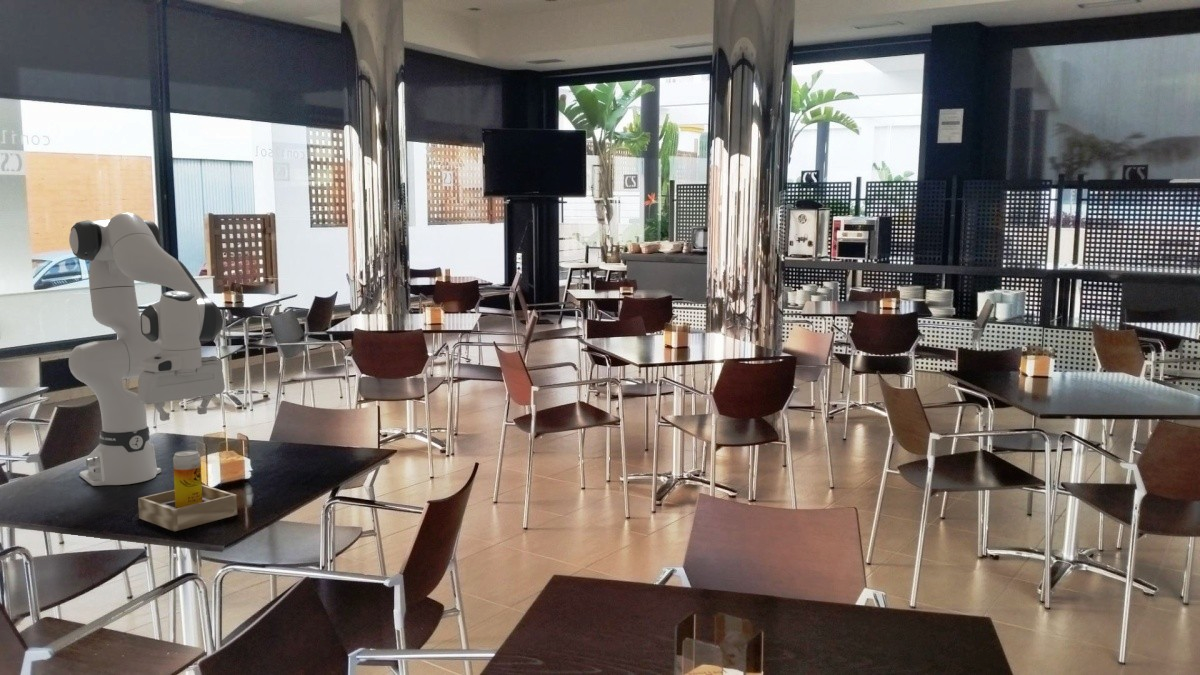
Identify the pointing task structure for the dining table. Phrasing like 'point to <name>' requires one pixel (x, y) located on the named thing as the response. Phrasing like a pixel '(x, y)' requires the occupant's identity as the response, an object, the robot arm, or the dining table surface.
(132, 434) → the robot arm
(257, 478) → the dining table surface
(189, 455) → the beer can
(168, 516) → the crate
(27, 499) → the dining table surface
